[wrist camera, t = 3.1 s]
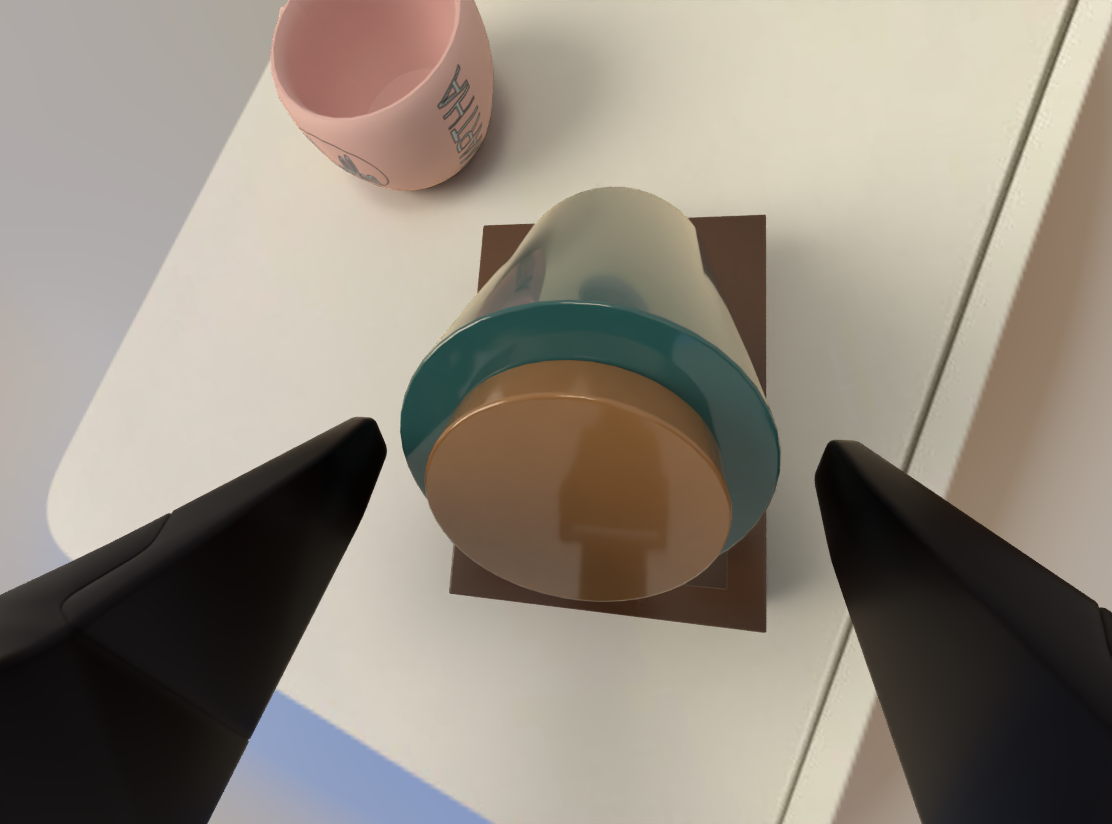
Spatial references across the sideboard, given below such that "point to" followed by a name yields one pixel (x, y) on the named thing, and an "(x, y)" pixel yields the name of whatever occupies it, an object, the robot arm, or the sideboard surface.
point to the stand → (740, 263)
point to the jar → (595, 408)
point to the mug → (387, 84)
